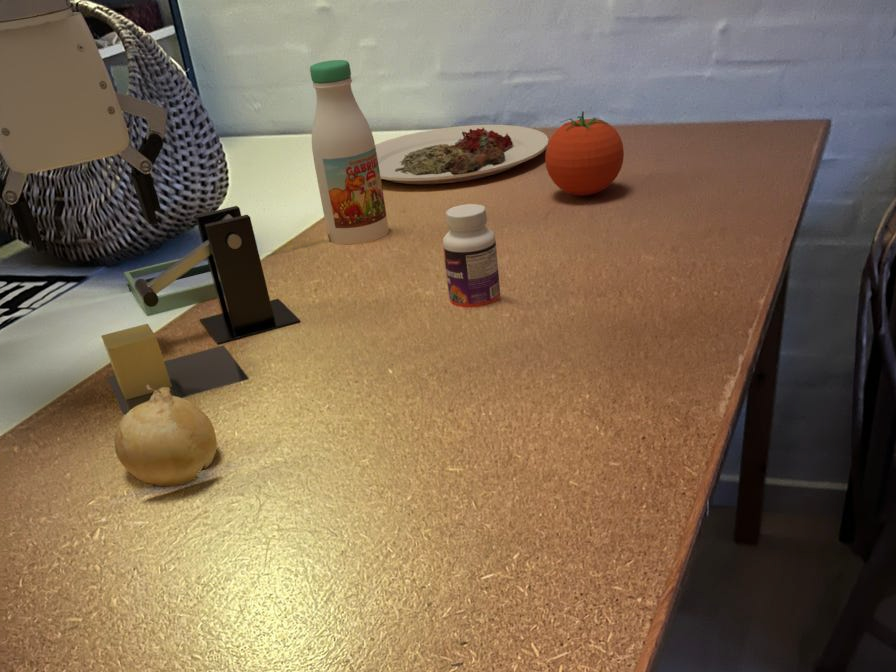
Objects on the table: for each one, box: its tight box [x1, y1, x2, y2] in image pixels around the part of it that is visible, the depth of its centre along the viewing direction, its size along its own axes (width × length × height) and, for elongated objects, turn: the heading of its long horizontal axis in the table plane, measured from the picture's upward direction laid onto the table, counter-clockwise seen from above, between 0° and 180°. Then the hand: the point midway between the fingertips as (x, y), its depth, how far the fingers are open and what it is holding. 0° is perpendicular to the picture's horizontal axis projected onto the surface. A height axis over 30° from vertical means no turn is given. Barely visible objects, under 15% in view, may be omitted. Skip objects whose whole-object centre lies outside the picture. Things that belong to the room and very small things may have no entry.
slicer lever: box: [134, 214, 233, 307], centre depth 98 cm, size 12×5×2 cm, turn 116°
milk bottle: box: [309, 59, 389, 246], centre depth 118 cm, size 8×8×20 cm
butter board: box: [105, 344, 250, 416], centre depth 95 cm, size 12×10×1 cm
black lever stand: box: [194, 205, 301, 346], centre depth 101 cm, size 9×8×12 cm
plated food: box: [375, 124, 549, 185], centre depth 149 cm, size 30×30×3 cm
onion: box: [114, 385, 218, 488], centre depth 79 cm, size 8×8×7 cm
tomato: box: [544, 111, 625, 197], centre depth 127 cm, size 10×10×10 cm
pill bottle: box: [442, 203, 501, 308], centre depth 101 cm, size 5×5×10 cm
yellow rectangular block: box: [100, 323, 172, 400], centre depth 92 cm, size 4×4×5 cm
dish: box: [123, 257, 218, 317], centre depth 115 cm, size 12×12×3 cm
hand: (96, 234), depth 85 cm, fingers open, 9 cm apart
